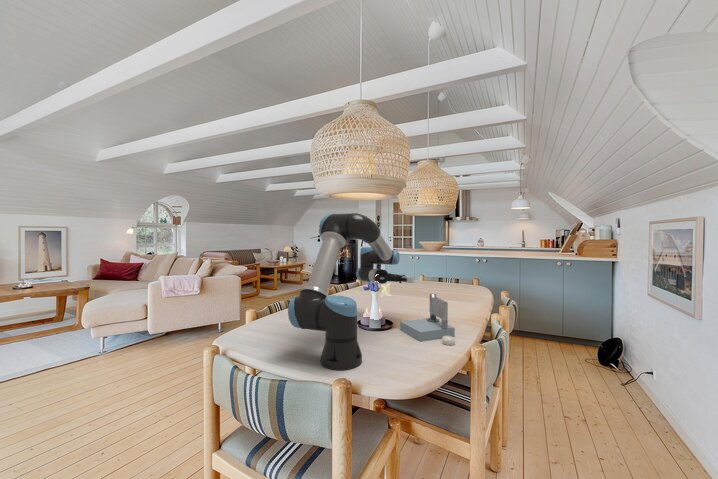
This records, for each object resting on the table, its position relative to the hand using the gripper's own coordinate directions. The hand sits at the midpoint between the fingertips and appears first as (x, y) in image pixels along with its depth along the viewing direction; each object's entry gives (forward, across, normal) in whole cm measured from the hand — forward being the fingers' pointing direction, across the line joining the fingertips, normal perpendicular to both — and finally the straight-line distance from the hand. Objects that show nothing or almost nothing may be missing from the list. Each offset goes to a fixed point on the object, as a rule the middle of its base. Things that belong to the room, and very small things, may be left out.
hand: (413, 280), depth 150 cm
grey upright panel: (+10, -6, -20) cm, 23 cm away
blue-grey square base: (+7, -2, -24) cm, 25 cm away
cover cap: (+22, +3, -22) cm, 31 cm away
